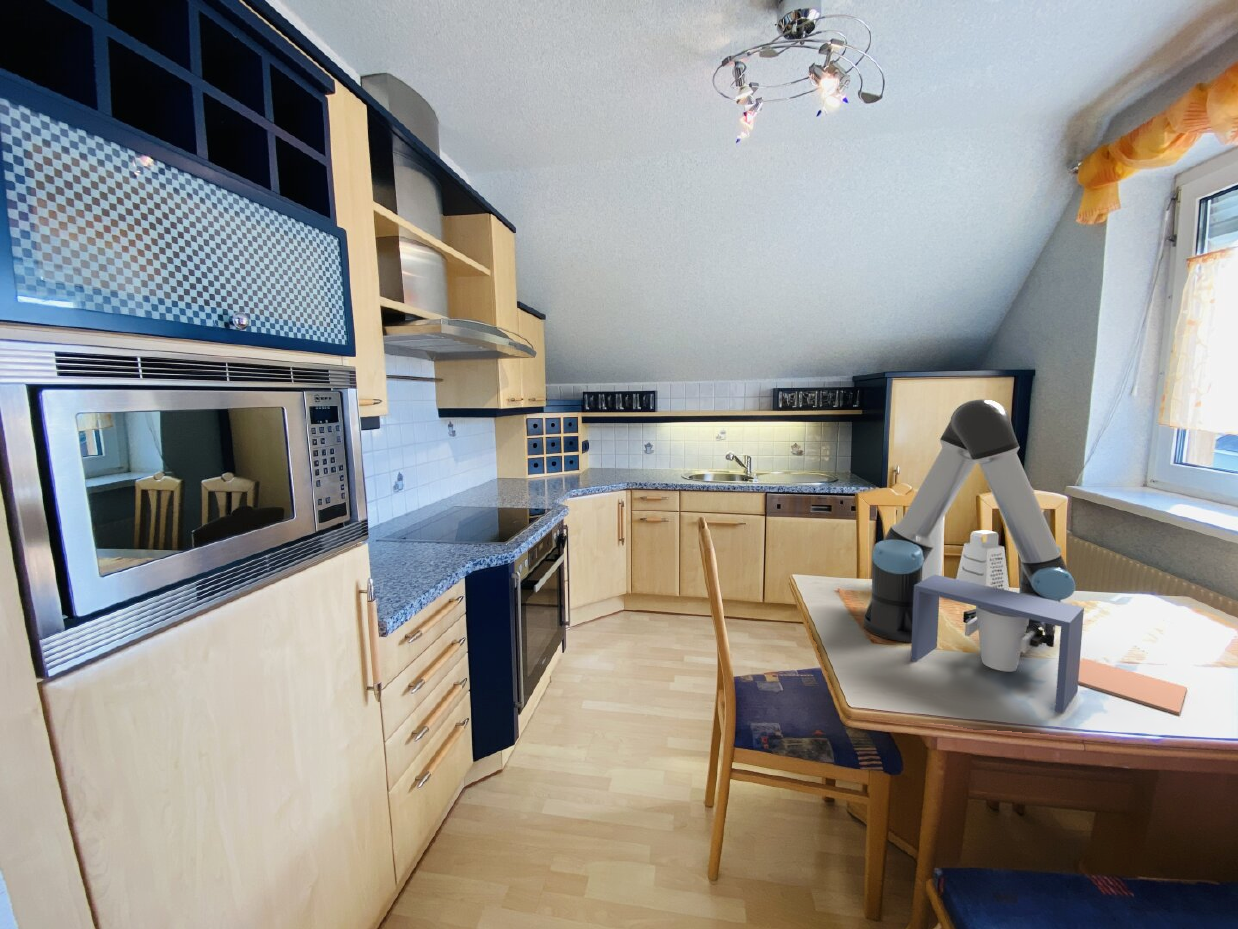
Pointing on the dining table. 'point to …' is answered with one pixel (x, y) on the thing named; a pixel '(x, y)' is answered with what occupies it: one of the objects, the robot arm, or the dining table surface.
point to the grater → (983, 561)
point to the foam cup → (1000, 638)
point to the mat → (1132, 686)
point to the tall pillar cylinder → (935, 554)
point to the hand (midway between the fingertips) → (994, 637)
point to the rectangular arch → (1003, 602)
